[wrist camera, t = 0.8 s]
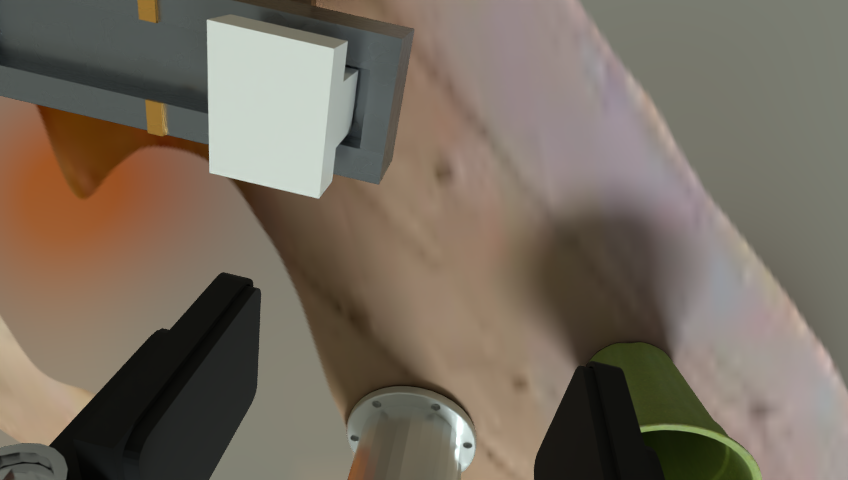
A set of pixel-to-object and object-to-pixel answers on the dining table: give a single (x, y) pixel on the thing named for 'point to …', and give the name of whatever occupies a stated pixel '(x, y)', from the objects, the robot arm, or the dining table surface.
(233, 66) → the rider
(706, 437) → the plant pot
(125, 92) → the balance beam
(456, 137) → the dining table surface
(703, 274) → the dining table surface
